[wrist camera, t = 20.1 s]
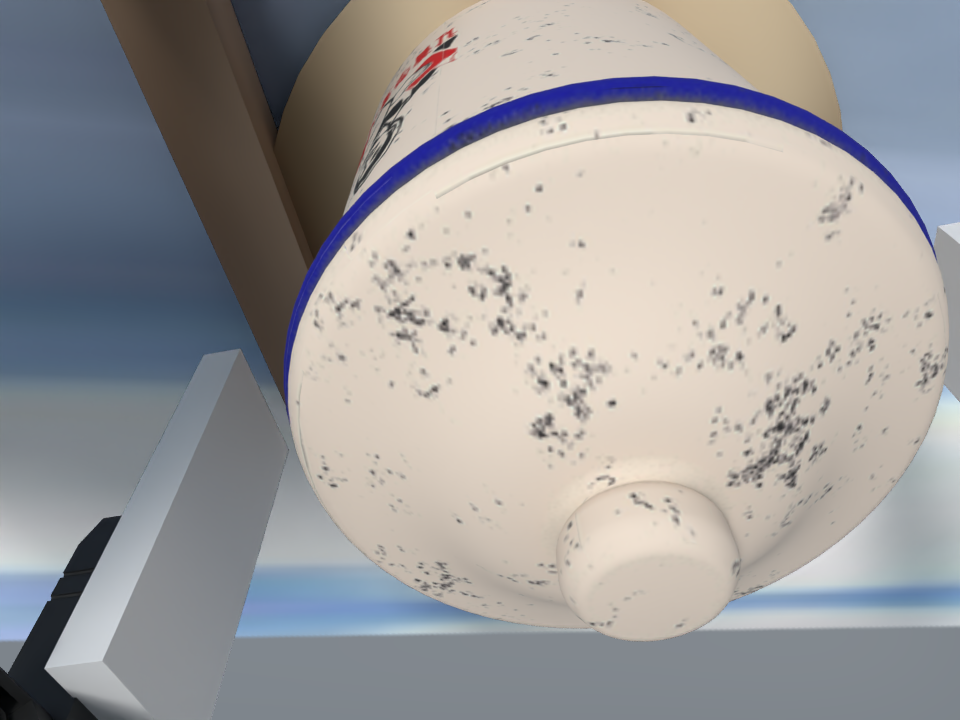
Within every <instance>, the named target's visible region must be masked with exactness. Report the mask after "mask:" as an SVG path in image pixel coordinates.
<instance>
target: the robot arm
mask: <svg viewBox="0 0 960 720" xmlns="http://www.w3.org/2000/svg"><path fill="white" fill-rule="evenodd" d="M934 250H935V253H936V258H937V262H938V266H939V269H940V271H941V274H942V279H943V283H944V288H945V292H946V296H947V302H948V314H949V348H948V362H947V368H946V374H945V379H944V385H945V386H946V387H947V388H948V389H949V391H950V392H951V393H952V394H953V395H954V396H955V397H956V398H957V400H958V401H959V402H960V222H958V223H953V224H947V225H941V226H938V228H937V233H936V238H935V243H934ZM288 451H289V449H288V447H287V445H286V443H285V441H284V439H283V437H282V435H281V433H280V431H279V428H278V426H277V424H276V422H275V420H274V418H273V416H272V414H271V412H270V410H269V407H268V405H267V403H266V401H265V399H264V397H263V395H262V393H261V391H260V389H259V386H258V384H257V382H256V380H255V378H254V376H253V374H252V372H251V370H250V368H249V366H248V363H247V361H246V359H245V357H244V355H243V353H242V351H241V349H234V350H229V351H223V352H217V353H212V354H206V355H203V357H202V359H201V361H200V363H199V365H198V367H197V369H196V371H195V373H194V375H193V377H192V379H191V381H190V383H189V385H188V387H187V388H186V390H185V392H184V394H183V396H182V398H181V400H180V402H179V404H178V406H177V408H176V410H175V412H174V414H173V416H172V418H171V420H170V422H169V424H168V426H167V428H166V430H165V432H164V434H163V436H162V438H161V440H160V442H159V444H158V446H157V448H156V449H155V451H154V453H153V455H152V457H151V459H150V461H149V463H148V465H147V467H146V469H145V471H144V473H143V475H142V477H141V479H140V481H139V483H138V485H137V487H136V489H135V491H134V493H133V495H132V497H131V499H130V501H129V503H128V505H127V507H126V509H125V510H124V512H123V514H122V516H116V517H109V518H103V519H102V521H101V522H100V523H99V524H98V525H97V526H96V527H95V528H94V529H93V530H92V531H91V532H90V533H89V534H88V535H87V536H86V537H85V538H84V539H83V541H82V542H81V543H80V544H79V545H78V547H77V549H76V550H75V552H74V554H73V556H72V558H71V559H70V561H69V563H68V565H67V567H66V569H65V570H64V572H63V573H64V577H63V578H60V579H59V581H58V583H57V585H56V587H55V589H54V590H53V592H52V594H51V601H47V603H46V605H45V607H44V609H43V610H42V612H41V614H40V616H39V618H38V620H37V621H36V623H35V625H34V627H33V629H32V631H31V632H30V634H29V636H28V638H27V640H26V641H25V643H24V645H23V647H22V649H21V651H20V652H19V654H18V656H17V658H16V660H15V662H14V663H13V665H12V667H11V669H10V671H9V672H8V674H7V673H6V672H5V671H4V670H3V669H2V668H1V667H0V720H211V717H212V714H213V710H214V707H215V703H216V700H217V696H218V693H219V689H220V686H221V683H222V679H223V676H224V672H225V669H226V665H227V662H228V658H229V655H230V651H231V648H232V644H233V641H234V638H235V634H236V631H237V627H238V624H239V620H240V617H241V613H242V610H243V606H244V603H245V599H246V596H247V593H248V589H249V586H250V582H251V579H252V575H253V572H254V568H255V565H256V561H257V558H258V554H259V551H260V548H261V544H262V541H263V537H264V534H265V530H266V527H267V523H268V520H269V516H270V513H271V509H272V506H273V503H274V499H275V496H276V492H277V489H278V485H279V482H280V478H281V475H282V471H283V468H284V464H285V461H286V458H287V454H288Z"/></svg>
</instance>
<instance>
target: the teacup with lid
mask: <svg viewBox="0 0 960 720" xmlns="http://www.w3.org/2000/svg"><path fill="white" fill-rule="evenodd" d="M948 348H949V314H948V302H947V296H946V292H945V288H944V283H943V279H942V274H941V271H940V269H939V266H938V262H937V258H936V253H935V250H934V248H933V245H932V242H931V240H930V237H929V235H928V232H927V229H926V227H925V224H924V223H923V221H922V219H921V217H920V216H919V214H918V212H917V210H916V208H915V207H914V205H913V203H912V201H911V199H910V198H909V197H908V195H907V194H906V193H905V191H904V190H903V189H902V188H901V186H900V185H899V184H898V182H897V181H896V180H895V178H894V177H893V176H892V174H891V173H890V172H889V171H888V170H887V169H886V168H885V167H884V166H883V165H882V164H881V163H880V162H879V161H878V160H877V159H876V158H875V157H874V156H873V155H872V154H871V153H870V152H869V151H868V150H866V149H865V148H864V147H863V146H861V145H860V144H859V143H857V142H856V141H855V140H853V139H852V138H851V137H849V136H848V135H847V134H845V133H844V132H843V131H841V130H840V129H839V128H837V127H835V126H833V125H832V124H830V123H828V122H826V121H825V120H823V119H821V118H819V117H818V116H816V115H814V114H812V113H811V112H809V111H807V110H805V109H802V108H800V107H797V106H795V105H793V104H790V103H788V102H785V101H783V100H781V99H778V98H776V97H773V96H771V95H767V94H764V93H761V92H760V91H759V90H758V89H756V88H755V87H754V86H753V85H752V84H750V83H749V82H748V81H747V80H746V79H744V78H743V77H742V76H741V75H740V74H739V73H737V72H736V71H735V70H734V69H733V68H731V67H730V66H729V65H728V64H727V63H725V62H724V61H723V60H722V59H721V58H720V57H718V56H717V55H716V54H715V53H714V52H712V51H711V50H710V49H709V48H708V47H706V46H705V45H704V44H703V43H702V42H700V41H699V40H698V39H697V38H696V37H695V36H693V35H692V34H691V33H690V32H689V31H687V30H686V29H685V28H684V27H683V26H681V25H680V24H679V23H678V22H676V21H675V20H674V19H672V18H671V17H670V16H668V15H667V14H666V13H664V12H663V11H661V10H659V9H657V8H656V7H654V6H652V5H650V4H649V3H647V2H645V1H642V0H482V1H480V2H478V3H476V4H474V5H472V6H470V7H468V8H466V9H464V10H462V11H461V12H459V13H458V14H456V15H455V16H453V17H451V18H450V19H448V20H447V21H445V22H444V23H443V24H442V25H440V26H439V27H438V28H437V29H435V30H434V31H433V32H432V33H430V34H429V35H428V36H427V37H426V38H425V39H424V40H423V41H422V42H421V43H420V44H419V45H418V46H417V47H416V48H415V49H414V50H413V51H412V53H411V54H410V55H409V56H408V57H407V59H406V60H405V61H404V62H403V64H402V65H401V66H400V68H399V69H398V71H397V72H396V74H395V75H394V77H393V78H392V80H391V81H390V83H389V85H388V87H387V89H386V91H385V92H384V94H383V96H382V98H381V100H380V103H379V105H378V108H377V110H376V113H375V115H374V118H373V121H372V124H371V128H370V131H369V134H368V137H367V140H366V143H365V147H364V150H363V153H362V156H361V159H360V163H359V166H358V169H357V172H356V175H355V178H354V182H353V185H352V188H351V191H350V194H349V198H348V201H347V204H346V207H345V210H344V213H343V217H342V218H341V219H340V220H339V222H338V223H337V225H336V226H335V228H334V229H333V230H332V232H331V233H330V235H329V236H328V238H327V239H326V240H325V242H324V243H323V245H322V246H321V248H320V250H319V252H318V253H317V255H316V257H315V259H314V261H313V263H312V265H311V266H310V268H309V270H308V272H307V274H306V276H305V279H304V281H303V284H302V286H301V289H300V291H299V294H298V296H297V299H296V301H295V304H294V308H293V312H292V316H291V320H290V323H289V327H288V331H287V339H286V346H285V354H284V393H285V402H286V410H287V414H288V418H289V422H290V426H291V432H292V436H293V440H294V444H295V448H296V452H297V455H298V458H299V460H300V463H301V465H302V468H303V470H304V473H305V475H306V477H307V479H308V481H309V483H310V485H311V487H312V489H313V490H314V492H315V494H316V496H317V498H318V500H319V501H320V503H321V504H322V506H323V507H324V509H325V510H326V512H327V513H328V515H329V516H330V517H331V519H332V520H333V522H334V523H335V524H336V526H337V527H338V528H339V529H340V530H341V531H342V533H343V534H344V535H345V536H346V537H347V538H348V540H349V541H350V542H351V543H352V544H354V545H355V546H356V547H357V548H358V549H359V550H360V551H361V552H362V553H363V554H364V555H365V556H366V557H368V558H369V559H370V560H371V561H373V562H374V563H375V564H377V565H378V566H379V567H380V568H382V569H383V570H384V571H386V572H387V573H389V574H390V575H392V576H393V577H395V578H396V579H398V580H399V581H401V582H402V583H404V584H406V585H407V586H409V587H411V588H413V589H415V590H417V591H419V592H421V593H422V594H424V595H426V596H429V597H431V598H433V599H435V600H438V601H440V602H442V603H445V604H447V605H450V606H453V607H456V608H458V609H461V610H464V611H467V612H470V613H474V614H478V615H481V616H485V617H488V618H493V619H498V620H502V621H507V622H512V623H519V624H526V625H533V626H541V627H554V628H583V629H587V628H592V629H594V630H596V631H598V632H600V633H602V634H604V635H607V636H610V637H613V638H617V639H621V640H627V641H642V642H643V641H658V640H665V639H669V638H674V637H678V636H681V635H684V634H687V633H689V632H692V631H694V630H696V629H698V628H700V627H702V626H704V625H705V624H707V623H708V622H710V621H711V620H712V619H714V618H715V617H716V616H717V615H718V614H719V613H720V612H721V611H722V610H723V609H724V608H725V607H726V605H727V604H728V603H729V602H731V601H733V600H736V599H738V598H741V597H743V596H745V595H748V594H750V593H753V592H755V591H757V590H759V589H761V588H763V587H766V586H768V585H770V584H772V583H774V582H776V581H778V580H780V579H781V578H783V577H785V576H787V575H789V574H790V573H792V572H794V571H796V570H798V569H799V568H801V567H802V566H804V565H806V564H807V563H809V562H810V561H812V560H813V559H815V558H816V557H818V556H820V555H821V554H822V553H824V552H825V551H826V550H828V549H829V548H831V547H832V546H833V545H835V544H836V543H837V542H839V541H840V540H841V539H842V538H844V537H845V536H846V535H847V534H848V533H849V532H851V531H852V530H853V529H854V528H855V527H856V526H858V525H859V524H860V523H861V522H862V521H863V520H864V519H865V518H866V517H867V516H868V515H869V514H870V513H871V512H872V511H873V510H874V509H875V508H876V507H877V506H878V505H879V504H880V503H881V501H882V500H883V499H884V498H885V497H886V495H887V494H888V493H889V492H890V491H891V490H892V488H893V487H894V486H895V485H896V483H897V482H898V480H899V479H900V478H901V476H902V475H903V473H904V472H905V471H906V469H907V468H908V466H909V465H910V463H911V461H912V460H913V458H914V456H915V454H916V453H917V451H918V449H919V447H920V446H921V444H922V442H923V440H924V438H925V436H926V434H927V432H928V429H929V427H930V425H931V423H932V420H933V418H934V416H935V413H936V409H937V406H938V403H939V400H940V397H941V393H942V390H943V384H944V379H945V374H946V368H947V362H948Z"/></svg>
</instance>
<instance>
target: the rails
mask: <svg viewBox="0 0 960 720" xmlns="http://www.w3.org/2000/svg"><path fill="white" fill-rule="evenodd" d="M101 2H102V4H103V7H104V9H105V11H106V13H107V15H108V18H109V20H110V22H111V24H112V26H113V29H114V31H115V33H116V35H117V37H118V39H119V42H120V44H121V46H122V48H123V50H124V53H125V55H126V57H127V59H128V61H129V64H130V66H131V68H132V70H133V72H134V74H135V77H136V79H137V81H138V83H139V85H140V88H141V90H142V92H143V94H144V96H145V99H146V101H147V103H148V105H149V107H150V109H151V112H152V114H153V116H154V118H155V120H156V123H157V125H158V127H159V129H160V131H161V133H162V136H163V138H164V140H165V142H166V144H167V147H168V149H169V151H170V153H171V155H172V158H173V160H174V162H175V164H176V166H177V168H178V171H179V173H180V175H181V177H182V179H183V182H184V184H185V186H186V188H187V190H188V193H189V195H190V197H191V199H192V201H193V203H194V206H195V208H196V210H197V212H198V214H199V217H200V219H201V221H202V223H203V225H204V228H205V230H206V232H207V234H208V236H209V238H210V241H211V243H212V245H213V247H214V249H215V252H216V254H217V256H218V258H219V260H220V263H221V265H222V267H223V269H224V271H225V273H226V276H227V278H228V280H229V282H230V284H231V287H232V289H233V291H234V293H235V295H236V298H237V300H238V302H239V304H240V306H241V308H242V311H243V313H244V315H245V317H246V319H247V322H248V324H249V326H250V328H251V330H252V333H253V335H254V337H255V339H256V341H257V343H258V346H259V348H260V350H261V352H262V354H263V357H264V359H265V361H266V363H267V365H268V368H269V370H270V372H271V374H272V376H273V378H274V381H275V383H276V385H277V387H278V389H279V392H280V394H281V396H282V398H283V400H284V402H285V393H284V354H285V346H286V339H287V331H288V327H289V323H290V320H291V316H292V312H293V308H294V304H295V301H296V299H297V296H298V294H299V291H300V289H301V286H302V284H303V281H304V279H305V276H306V274H307V272H308V270H309V268H310V266H311V265H312V263H313V261H314V259H313V257H312V254H311V251H310V248H309V246H308V243H307V240H306V238H305V235H304V232H303V230H302V227H301V224H300V221H299V219H298V216H297V213H296V211H295V208H294V205H293V203H292V200H291V197H290V194H289V192H288V189H287V186H286V184H285V181H284V178H283V176H282V173H281V170H280V167H279V165H278V162H277V159H276V157H275V154H274V146H275V142H276V138H277V134H278V131H277V128H276V125H275V123H274V120H273V117H272V114H271V111H270V109H269V106H268V103H267V100H266V98H265V95H264V92H263V89H262V87H261V84H260V81H259V78H258V75H257V73H256V70H255V67H254V64H253V62H252V59H251V56H250V53H249V51H248V48H247V45H246V42H245V39H244V37H243V34H242V31H241V28H240V26H239V23H238V20H237V17H236V15H235V12H234V9H233V6H232V3H231V1H230V0H101ZM285 405H286V402H285Z"/></svg>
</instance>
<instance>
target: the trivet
mask: <svg viewBox="0 0 960 720" xmlns="http://www.w3.org/2000/svg"><path fill="white" fill-rule="evenodd" d="M480 1H482V0H350V2H349V3H348V4H347V5H346V6H345V8H344V9H343V10H342V11H341V13H340V14H339V15H338V16H337V17H336V19H335V20H334V21H333V22H332V24H331V25H330V26H329V27H328V28H327V30H326V31H325V32H324V34H323V35H322V37H321V38H320V40H319V41H318V43H317V45H316V46H315V48H314V50H313V51H312V53H311V55H310V56H309V58H308V60H307V61H306V63H305V64H304V66H303V68H302V69H301V71H300V73H299V75H298V77H297V80H296V82H295V84H294V87H293V89H292V92H291V94H290V96H289V99H288V101H287V104H286V106H285V108H284V111H283V115H282V118H281V122H280V126H279V130H278V134H277V138H276V142H275V146H274V154H275V157H276V159H277V162H278V165H279V167H280V170H281V173H282V176H283V178H284V181H285V184H286V186H287V189H288V192H289V194H290V197H291V200H292V203H293V205H294V208H295V211H296V213H297V216H298V219H299V221H300V224H301V227H302V230H303V232H304V235H305V238H306V240H307V243H308V246H309V248H310V251H311V254H312V257H313V259H315V257H316V255H317V253H318V252H319V250H320V248H321V246H322V245H323V243H324V242H325V240H326V239H327V238H328V236H329V235H330V233H331V232H332V230H333V229H334V228H335V226H336V225H337V223H338V222H339V220H340V219H341V218H342V217H343V213H344V210H345V207H346V204H347V201H348V198H349V194H350V191H351V188H352V185H353V182H354V178H355V175H356V172H357V169H358V166H359V163H360V159H361V156H362V153H363V150H364V147H365V143H366V140H367V137H368V134H369V131H370V128H371V124H372V121H373V118H374V115H375V113H376V110H377V108H378V105H379V103H380V100H381V98H382V96H383V94H384V92H385V91H386V89H387V87H388V85H389V83H390V81H391V80H392V78H393V77H394V75H395V74H396V72H397V71H398V69H399V68H400V66H401V65H402V64H403V62H404V61H405V60H406V59H407V57H408V56H409V55H410V54H411V53H412V51H413V50H414V49H415V48H416V47H417V46H418V45H419V44H420V43H421V42H422V41H423V40H424V39H425V38H426V37H427V36H428V35H429V34H430V33H432V32H433V31H434V30H435V29H437V28H438V27H439V26H440V25H442V24H443V23H444V22H445V21H447V20H448V19H450V18H451V17H453V16H455V15H456V14H458V13H459V12H461V11H462V10H464V9H466V8H468V7H470V6H472V5H474V4H476V3H478V2H480ZM642 1H645V2H647V3H649V4H650V5H652V6H654V7H656V8H657V9H659V10H661V11H663V12H664V13H666V14H667V15H668V16H670V17H671V18H672V19H674V20H675V21H676V22H678V23H679V24H680V25H681V26H683V27H684V28H685V29H686V30H687V31H689V32H690V33H691V34H692V35H693V36H695V37H696V38H697V39H698V40H699V41H700V42H702V43H703V44H704V45H705V46H706V47H708V48H709V49H710V50H711V51H712V52H714V53H715V54H716V55H717V56H718V57H720V58H721V59H722V60H723V61H724V62H725V63H727V64H728V65H729V66H730V67H731V68H733V69H734V70H735V71H736V72H737V73H739V74H740V75H741V76H742V77H743V78H744V79H746V80H747V81H748V82H749V83H750V84H752V85H753V86H754V87H755V88H756V89H758V90H759V91H760V92H761V93H764V94H767V95H771V96H773V97H776V98H778V99H781V100H783V101H785V102H788V103H790V104H793V105H795V106H797V107H800V108H802V109H805V110H807V111H809V112H811V113H812V114H814V115H816V116H818V117H819V118H821V119H823V120H825V121H826V122H828V123H830V124H832V125H833V126H835V127H837V128H839V129H840V130H841V131H842V122H841V113H840V108H839V104H838V100H837V97H836V93H835V89H834V86H833V82H832V78H831V75H830V72H829V70H828V68H827V65H826V63H825V61H824V59H823V56H822V54H821V52H820V50H819V48H818V45H817V43H816V41H815V39H814V37H813V36H812V34H811V33H810V31H809V30H808V28H807V27H806V25H805V24H804V22H803V21H802V19H801V18H800V16H799V15H798V13H797V12H796V10H795V9H794V7H793V6H792V4H791V3H790V2H789V1H788V0H642Z"/></svg>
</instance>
